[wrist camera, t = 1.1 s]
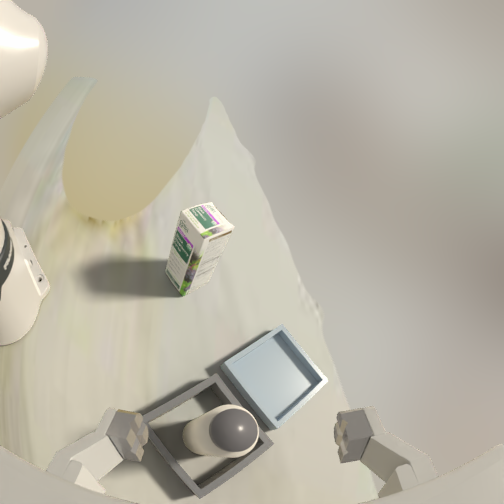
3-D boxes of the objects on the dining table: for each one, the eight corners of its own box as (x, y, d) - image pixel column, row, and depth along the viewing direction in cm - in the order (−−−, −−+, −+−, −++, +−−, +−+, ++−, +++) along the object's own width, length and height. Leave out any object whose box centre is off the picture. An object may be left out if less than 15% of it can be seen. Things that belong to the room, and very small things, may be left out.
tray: (219, 366, 40) (224, 362, 38) (276, 329, 48) (282, 323, 46) (270, 430, 36) (277, 428, 34) (320, 384, 44) (328, 380, 42)
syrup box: (163, 272, 47) (178, 210, 37) (190, 259, 51) (211, 199, 40) (182, 297, 45) (202, 239, 35) (209, 283, 49) (236, 225, 39)
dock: (136, 420, 30) (136, 418, 28) (211, 378, 38) (216, 372, 36) (195, 495, 26) (199, 498, 23) (265, 444, 34) (274, 443, 32)
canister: (174, 430, 31) (192, 422, 21) (206, 411, 35) (239, 391, 25) (199, 462, 29) (231, 468, 19) (230, 440, 33) (274, 434, 23)
